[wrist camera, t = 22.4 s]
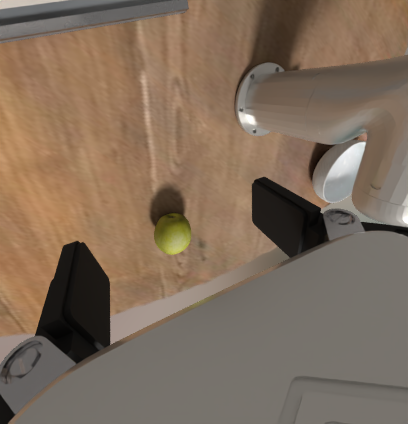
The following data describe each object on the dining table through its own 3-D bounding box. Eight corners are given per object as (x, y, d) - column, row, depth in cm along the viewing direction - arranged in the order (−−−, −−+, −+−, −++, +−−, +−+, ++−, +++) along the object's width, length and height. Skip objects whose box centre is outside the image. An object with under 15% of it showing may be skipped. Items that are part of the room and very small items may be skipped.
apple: (151, 243, 46) (159, 267, 40) (149, 208, 41) (158, 229, 35) (183, 237, 49) (195, 258, 43) (185, 204, 44) (198, 223, 38)
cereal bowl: (316, 135, 50) (342, 141, 45) (356, 136, 57) (383, 141, 51) (295, 196, 59) (315, 207, 53) (332, 190, 65) (353, 200, 60)
